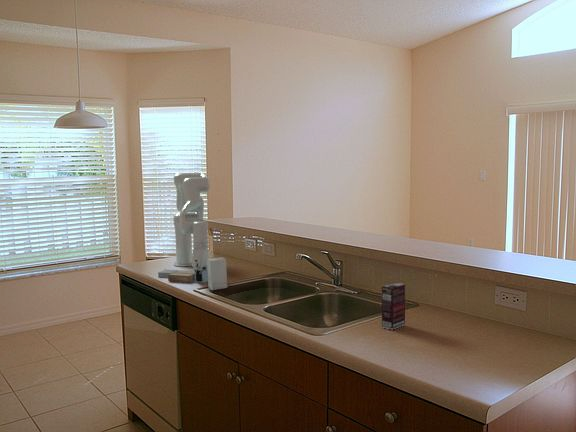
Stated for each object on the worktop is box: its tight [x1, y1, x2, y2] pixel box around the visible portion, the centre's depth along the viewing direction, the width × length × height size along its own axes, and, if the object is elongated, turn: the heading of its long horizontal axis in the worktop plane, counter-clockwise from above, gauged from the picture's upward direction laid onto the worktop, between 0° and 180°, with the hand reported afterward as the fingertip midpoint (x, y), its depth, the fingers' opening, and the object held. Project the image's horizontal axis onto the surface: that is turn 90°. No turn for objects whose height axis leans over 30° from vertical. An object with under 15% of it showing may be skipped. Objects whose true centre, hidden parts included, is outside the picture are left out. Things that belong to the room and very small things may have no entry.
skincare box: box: [207, 256, 228, 291], centre depth 257 cm, size 8×6×15 cm
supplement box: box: [381, 282, 406, 331], centre depth 194 cm, size 9×5×16 cm, turn 133°
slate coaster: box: [157, 269, 179, 278], centre depth 287 cm, size 8×8×3 cm
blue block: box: [194, 268, 208, 284], centre depth 272 cm, size 5×5×6 cm
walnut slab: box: [167, 269, 195, 284], centre depth 277 cm, size 12×12×4 cm
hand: (201, 279), depth 272 cm, fingers closed on blue block, 5 cm apart
